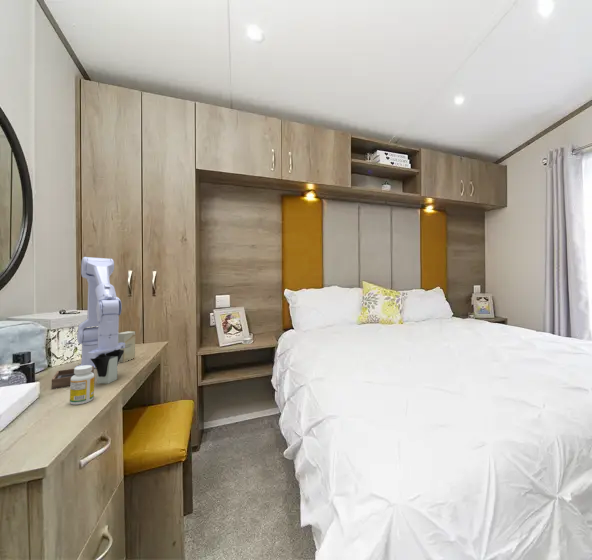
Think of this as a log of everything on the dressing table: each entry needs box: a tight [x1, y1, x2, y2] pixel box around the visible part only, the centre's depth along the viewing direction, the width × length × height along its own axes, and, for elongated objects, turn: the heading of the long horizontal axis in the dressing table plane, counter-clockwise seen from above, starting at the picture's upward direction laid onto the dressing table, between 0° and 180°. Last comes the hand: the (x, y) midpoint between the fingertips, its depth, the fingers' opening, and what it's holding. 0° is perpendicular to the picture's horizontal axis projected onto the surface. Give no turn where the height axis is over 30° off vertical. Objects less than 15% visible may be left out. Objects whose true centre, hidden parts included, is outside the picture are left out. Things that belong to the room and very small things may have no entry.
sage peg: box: [96, 356, 118, 384], centre depth 90 cm, size 4×4×8 cm
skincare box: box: [118, 330, 136, 363], centre depth 114 cm, size 6×4×12 cm
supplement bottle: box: [69, 365, 96, 406], centre depth 75 cm, size 5×5×10 cm
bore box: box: [51, 366, 95, 390], centre depth 89 cm, size 10×10×3 cm
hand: (107, 374), depth 90 cm, fingers closed on sage peg, 4 cm apart
